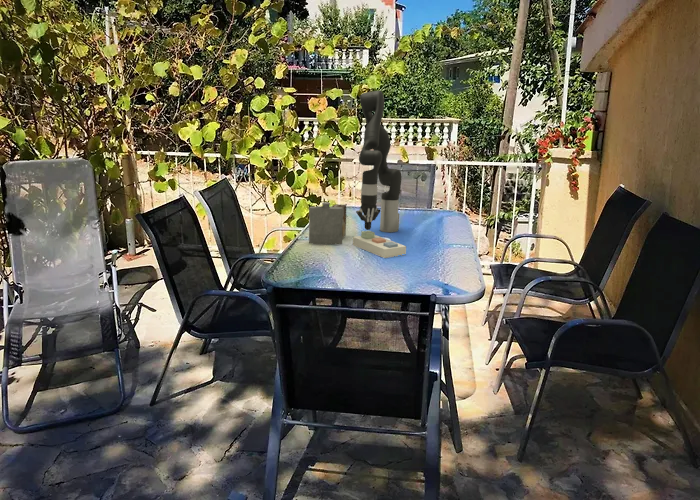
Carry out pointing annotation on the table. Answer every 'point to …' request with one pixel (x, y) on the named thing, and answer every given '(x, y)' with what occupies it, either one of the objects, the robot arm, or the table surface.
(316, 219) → the hip flask
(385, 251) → the button panel
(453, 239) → the table surface
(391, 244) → the key slate
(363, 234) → the key sage
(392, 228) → the robot arm
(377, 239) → the key terracotta
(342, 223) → the coffee box
